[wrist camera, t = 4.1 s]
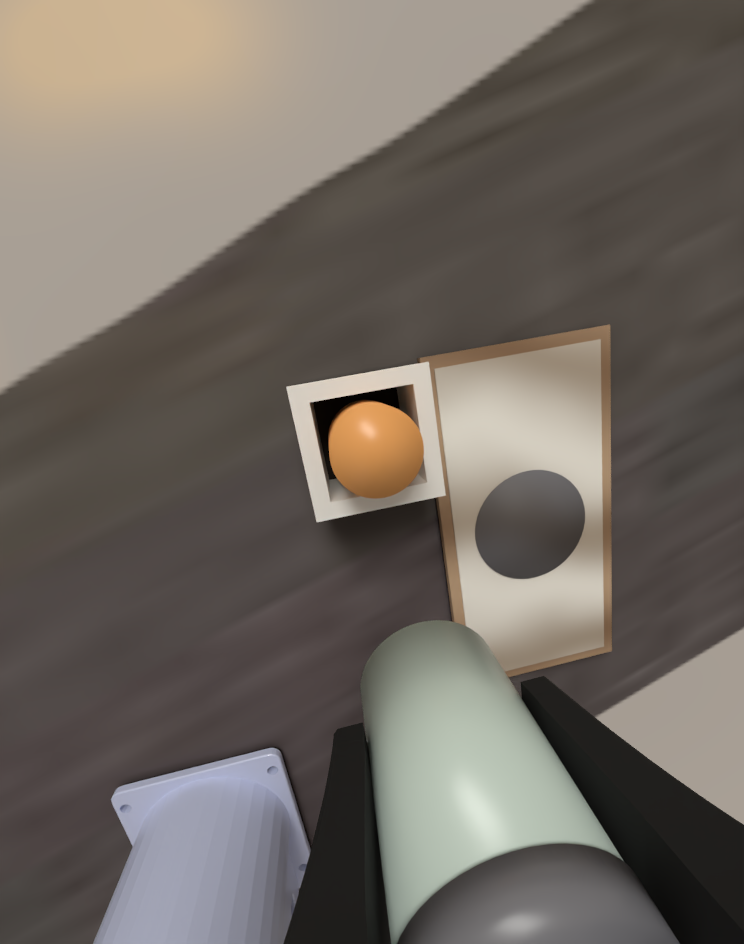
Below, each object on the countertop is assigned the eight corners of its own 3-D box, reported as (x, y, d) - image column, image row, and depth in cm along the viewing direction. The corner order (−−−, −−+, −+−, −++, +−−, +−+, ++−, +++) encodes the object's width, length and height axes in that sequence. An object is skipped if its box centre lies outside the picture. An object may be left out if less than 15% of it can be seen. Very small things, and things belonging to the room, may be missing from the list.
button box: (423, 474, 16) (445, 495, 13) (318, 496, 16) (316, 522, 13) (408, 365, 15) (428, 361, 12) (293, 385, 14) (286, 386, 12)
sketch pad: (606, 645, 19) (614, 653, 19) (460, 682, 19) (464, 691, 18) (603, 325, 15) (613, 323, 15) (417, 358, 15) (420, 357, 14)
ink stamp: (502, 718, 11) (685, 1064, 6) (371, 753, 11) (425, 1158, 5) (490, 604, 10) (700, 884, 5) (346, 638, 10) (378, 985, 4)
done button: (407, 466, 14) (429, 488, 11) (336, 480, 14) (339, 507, 11) (396, 393, 13) (417, 396, 11) (320, 407, 13) (320, 414, 10)
